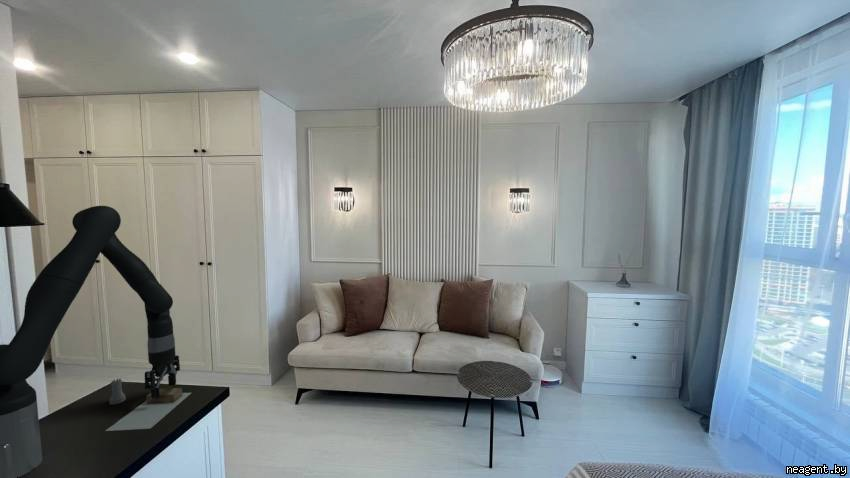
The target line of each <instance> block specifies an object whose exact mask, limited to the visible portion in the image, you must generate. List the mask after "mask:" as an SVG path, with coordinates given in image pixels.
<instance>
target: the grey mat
mask: <svg viewBox="0 0 850 478" xmlns="http://www.w3.org/2000/svg"><path fill="white" fill-rule="evenodd" d="M191 394H192V392H182V397H180V398H179V399H178V400H177V401H176V402H174V403H158V404H147V399H146V400H145V401H144V402H142V403H141V404H139V405H138V406H137V407H135V408H134V409H132V410H131V411H130V412H129V413H127V414H126V415H125V416H123V417H121V419H119V420H117V422H115V423H114V424H112V425H111V426H110V427H109V428H106V430H105V432H111V431H114V432H115V431H128V430H129V431H130V430H131V431H132V430H133V431H134V430H147V429H148V430H150V429H151V428H153V427H154V426H155V425H156V424H157V423H159V422H160V421H161V420H162V419H163V418H165V417H166V416H167V415H168V414H169V413H170V412H172V411H173V410H174V409H175V408H176V407H177V406H178V405H180V403H182V402H183V401H184V400H185V399H186V398H187V397H189V396H190V395H191Z"/></svg>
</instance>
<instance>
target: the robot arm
mask: <svg viewBox="0 0 850 478" xmlns="http://www.w3.org/2000/svg"><path fill="white" fill-rule="evenodd" d="M71 221H72V227H73V228H74V230H75V232H74V234H73V236H72V238H71V239H70V241H69V242H68V244H66V245H65V247H63V249H62V250H61V251H60V252H58V253H57V254H56V255H55V256H54V257H53V258H52V259H51V260H50V261H49V262H48V263H47V264H46V265H45V267H44V268H43V269H42V270H41V271H40V273H38V276H37V277H36V278H35V279H34V281H33V282H32V285H31V286H30V287H29V290H28V291H27V294H26V297H25V303H24V310H23V311H24V313H23V314H24V315H23V319H22V322H21V324H20V327H19V328H18V330H17V331H16V333H15V335H14V336H13V337H12V339H11V341H10V342H9V343H7V344H4V343H3V344H0V478H17V477H18V478H20V477H23V476H24V475H26V474H28V473H30V472H32V471H34V470H35V469H36V468H37V467H38V466H39V465H40V464H41V463H42V462H43V454H42V452H43V451H42V442H41V431H40V420H39V407H38V400H37V398H38V397H37V391H36V389H35V388H34V387H33V386H31V385H30V384H29V383H28V381H27V379H28V378H30V377H31V376H32V375H33V374H35V372H36V371H37V370H38V368H39V366H40V365H41V363H42V362H43V360H44V358H45V355H46V354H47V350H48V349H49V346H50V345H51V344H50V343H51V341H52V339H53V337H54V335H55V333H56V331H57V330H58V327H59V326H60V324H61V322H62V320H63V319H64V317H65V315H66V313H67V312H68V311H69V308H70V306H71V304H72V303H73V301H74V300H75V299H76V297H77V296H78V294H79V292H80V290H81V289H82V287H83V286H84V284H85V281H86V280H87V278H88V276H89V274H90V273H91V271H92V269H93V267H94V266H95V263H96V262H97V260H98V257H99V256H100V255H103V257H105V259H107V261H108V262H109V263H110V264H111V265H112V266H113V267H114V268H115V270H116V271H117V272H118V273H119V274H120V275H121V277H122V278H123V279H124V281H125V282H126V283H127V284H128V285H129V287H130V289H132V290H133V291H134V292H135V293H136V294H137V295H138V296H139V298H140V299H141V300H142V302H143V303H144V311H145V317H146V321H147V322H146V323H147V345H146V346H147V356H148V357H147V358H148V359H147V360H148V364H149V365H151V369H150V370H148V371H145V372H144V389H145V390H150V393H151V397H152V399H156V398H159V397H160V390H159V389H160V384H161V382H162V381H163V380H164V377H165V376H166V375H168V376H167V381H168V386H169V387H172V386H171V385H174V386H176V385H177V374H178V372H179V371H180V370H181V365H180V356H179V355H176V342H175V334H174V326H173V325H174V324H173V319H172V317H171V314H170V312H171V311H170V310H171V308H172V307H173V304H174V301H173V298H172V296H171V295H170V293H169V292H168V291H167V290H166V289H165V288H164V286H162V284H161V283H160V282H159V280H157V278H156V276H155V274H154V273H153V272H152V271H151V269H150V268H149V267H148V265H147V264H146V263H145V262H144V260H143V259H141V258H140V257H139V256H137V254H135V253H133V252H132V250H130V249H129V248H127V247H126V246H125V244H123V243H122V241H121V240H120V239H119V237H118V236H117V234H116V233H117V231H118V230H119V228H120V227H121V222H122V219H121V216H120V213H119V212H118V211H117V210H116V209H115V208H113V207H111V206H107V205H96V206H91V207H88V208H87V207H86V208H85V209H82V210H79V211H78V212H77V213H75V214H74V215H73V217H72V220H71Z"/></svg>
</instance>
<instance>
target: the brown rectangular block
mask: <svg viewBox="0 0 850 478" xmlns="http://www.w3.org/2000/svg"><path fill="white" fill-rule="evenodd" d="M159 390H160V397H159V398H156V399H152V397H151V392H150V393H148V394H147V395H146V396H145V397H146V398H145V399H146V400H147V404H158V403H174V402H176V401H177V400H178V399H179V398H180V397H182V393H183V388H182V387H174V388H173V387H172V388H169V387H168V388H159Z"/></svg>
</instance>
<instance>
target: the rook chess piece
mask: <svg viewBox="0 0 850 478" xmlns="http://www.w3.org/2000/svg"><path fill="white" fill-rule="evenodd" d="M122 383H123V380H122V378H117V379H116V378H115V379H113V380H111V381H110V384H109V386H111V390H112V391H111V396H110V398H109V400H108V401H109V403H108V404H109V405H116V404H122V403H123V402H124V401H126V399H127V398H126V395H125V393H124V392H123V389H122V387H123V385H122Z"/></svg>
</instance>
